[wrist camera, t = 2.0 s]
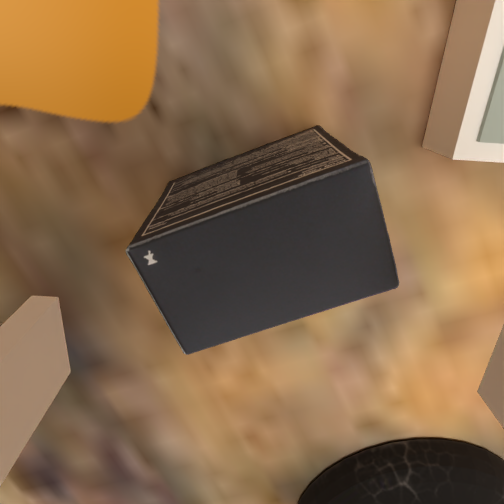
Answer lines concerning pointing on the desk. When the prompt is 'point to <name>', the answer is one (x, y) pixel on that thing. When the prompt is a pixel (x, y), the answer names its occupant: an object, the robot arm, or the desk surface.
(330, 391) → the desk surface
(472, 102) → the base
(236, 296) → the small box
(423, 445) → the banker's lamp
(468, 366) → the desk surface
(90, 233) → the desk surface
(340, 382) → the desk surface
